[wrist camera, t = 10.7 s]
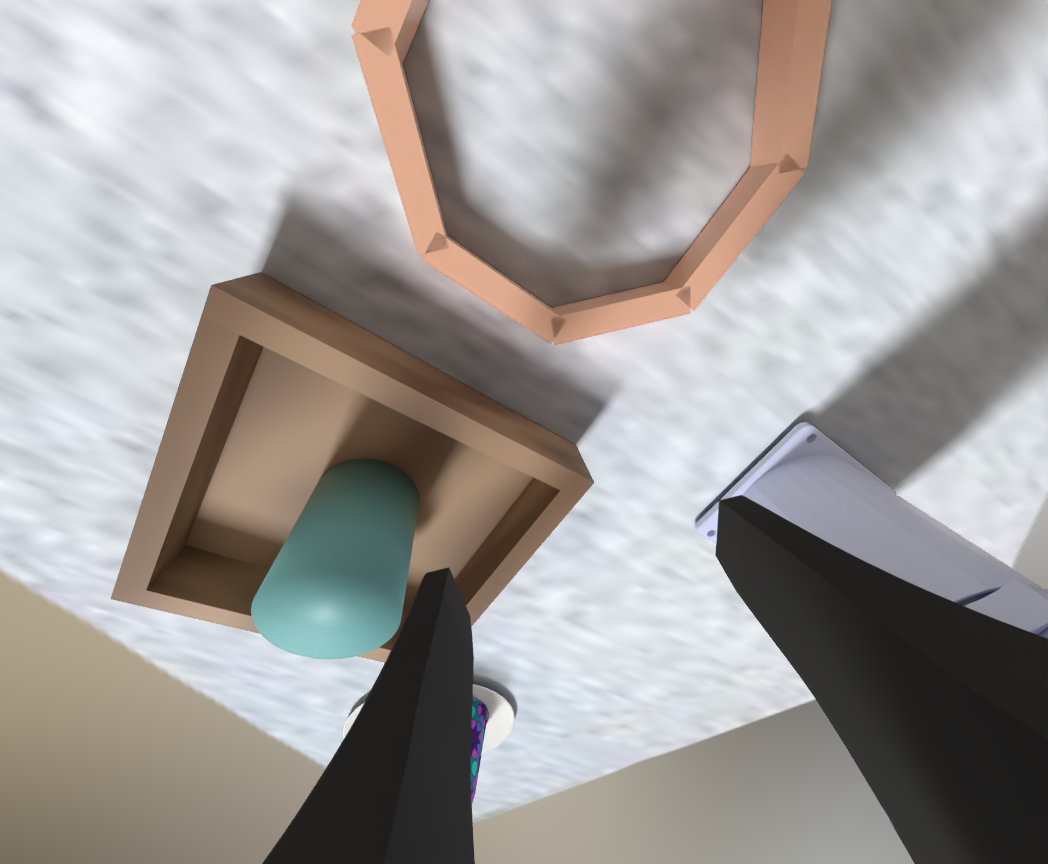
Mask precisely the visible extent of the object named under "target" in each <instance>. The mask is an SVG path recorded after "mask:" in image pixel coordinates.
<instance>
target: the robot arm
mask: <svg viewBox="0 0 1048 864" xmlns="http://www.w3.org/2000/svg"><path fill="white" fill-rule="evenodd" d="M808 436H809V437H808ZM694 530H695V532H696V533H697V534H698V535H699V536H701V537H703V538H704V539H706V540H708V541H710V542H712V543H714V544H716V557H717V559H718V560H719V562H720V564H721V566H722V567H723V569H724V571H725V573H726V574H727V576H728V578H729V579H730V581H731V583H732V584H733V586H734V588H735V589H736V591H737V593H738V594H739V595H740V597H741V598H742V599H743V601H744V602H745V604H746V605H747V606H748V608H749V609H750V610H751V612H752V613H753V614H754V616H755V617H756V618H757V620H758V621H759V622H760V624H761V625H762V626H763V628H764V629H765V630H766V632H767V633H768V634H769V636H770V637H771V638H772V640H773V641H774V642H775V644H776V645H777V646H778V648H779V649H780V650H781V652H782V653H783V654H784V656H785V657H786V658H787V660H788V661H789V662H790V664H791V665H792V666H793V668H794V669H795V670H796V672H797V673H798V674H799V676H800V677H801V678H802V680H803V681H804V683H805V684H806V685H807V687H808V688H809V690H810V691H811V693H812V694H813V695H814V697H815V698H816V700H817V702H818V703H819V705H820V706H821V708H822V709H823V711H824V713H825V714H826V716H827V717H828V719H829V720H830V722H831V724H832V725H833V727H834V728H835V730H836V731H837V733H838V735H839V736H840V738H841V740H842V741H843V743H844V744H845V746H846V748H847V749H848V751H849V752H850V754H851V756H852V758H853V759H854V761H855V762H856V764H857V765H858V767H859V769H860V771H861V772H862V774H863V776H864V777H865V779H866V781H867V782H868V784H869V786H870V787H871V789H872V791H873V792H874V794H875V796H876V797H877V799H878V801H879V802H880V804H881V806H882V808H883V810H884V812H885V814H886V816H887V817H888V819H889V821H890V822H891V824H892V826H893V827H894V829H895V830H896V832H897V834H898V835H899V837H900V839H901V840H902V842H903V844H904V846H905V847H906V849H907V851H908V853H909V854H910V856H911V858H912V860H913V861H914V863H915V864H1048V590H1047V589H1045V588H1042V587H1041V586H1039V585H1037V584H1036V583H1034V582H1033V581H1031V580H1030V579H1028V578H1026V577H1025V576H1023V575H1022V574H1020V573H1019V572H1017V571H1016V570H1014V569H1012V568H1011V567H1009V566H1008V565H1006V564H1005V563H1003V562H1001V561H1000V560H998V559H997V558H995V557H994V556H992V555H990V554H989V553H987V552H986V551H984V550H983V549H981V548H979V547H978V546H976V545H975V544H973V543H972V542H970V541H968V540H967V539H965V538H964V537H962V536H961V535H959V534H958V533H956V532H954V531H953V530H951V529H950V528H948V527H947V526H945V525H943V524H942V523H940V522H939V521H937V520H936V519H934V518H932V517H931V516H929V515H928V514H926V513H925V512H923V511H921V510H920V509H918V508H917V507H915V506H914V505H912V504H910V503H909V502H907V501H906V500H904V499H903V498H901V497H900V496H898V495H896V492H895V491H894V490H893V489H891V488H890V487H889V486H888V485H886V484H885V483H884V482H883V481H881V480H880V479H879V478H878V477H876V476H875V475H874V474H873V473H871V472H870V471H869V470H868V469H866V468H865V467H864V466H863V465H861V464H860V463H859V462H858V461H856V460H855V459H854V458H853V457H851V456H850V455H849V454H848V453H846V452H845V451H844V450H843V449H842V448H840V447H839V446H838V445H837V444H835V443H834V442H833V441H832V440H830V439H829V438H828V437H827V436H825V435H824V434H823V433H822V432H820V431H819V430H818V429H817V428H815V427H814V426H813V425H811V424H809V423H807V422H802V423H799V424H797V425H796V426H795V427H794V428H793V429H792V430H791V431H790V432H789V433H788V434H787V435H786V436H785V437H784V438H783V439H782V440H781V441H779V442H778V443H777V444H776V445H775V446H774V447H773V448H772V449H771V450H770V451H769V452H768V453H767V454H766V455H765V456H764V457H763V458H762V459H761V460H760V461H759V462H758V463H757V464H756V465H755V466H754V467H753V468H752V469H751V470H750V471H749V472H748V473H747V474H746V475H745V476H744V477H743V478H742V479H741V480H740V481H739V482H738V483H737V484H735V485H734V486H733V487H732V488H731V489H730V490H729V491H728V492H727V493H726V494H725V495H724V496H723V497H722V498H721V499H720V500H719V501H718V502H717V503H716V504H715V505H714V506H713V507H712V508H711V509H710V510H709V511H708V512H707V513H706V514H705V515H704V516H703V517H702V518H701V519H700V520H699V521H698V522H697V523H696V524H695V526H694ZM473 659H474V657H473V642H472V630H471V618H470V614H469V612H468V610H467V607H466V605H465V603H464V601H463V598H462V596H461V594H460V591H459V589H458V587H457V584H456V582H455V580H454V578H453V575H452V573H451V571H450V568H449V567H448V568H444V569H440V570H436V571H432V572H428V573H426V574H425V575H424V577H423V579H422V581H421V584H420V586H419V589H418V591H417V593H416V596H415V598H414V601H413V603H412V605H411V608H410V610H409V612H408V615H407V617H406V619H405V621H404V624H403V626H402V628H401V630H400V633H399V635H398V637H397V639H396V641H395V643H394V645H393V647H392V650H391V652H390V654H389V656H388V658H387V660H386V662H385V664H384V666H383V668H382V670H381V672H380V674H379V676H378V678H377V680H376V682H375V684H374V685H373V687H372V689H371V691H370V693H369V695H368V697H367V699H366V701H365V703H364V705H363V706H362V708H361V710H360V712H359V714H358V715H357V717H356V719H355V721H354V723H353V724H352V726H351V728H350V730H349V731H348V733H347V735H346V737H345V738H344V740H343V742H342V743H341V745H340V747H339V748H338V750H337V752H336V753H335V755H334V757H333V758H332V760H331V762H330V763H329V765H328V766H327V768H326V770H325V771H324V773H323V774H322V776H321V777H320V779H319V780H318V782H317V784H316V785H315V787H314V788H313V790H312V791H311V793H310V794H309V796H308V798H307V799H306V801H305V802H304V804H303V805H302V807H301V808H300V810H299V811H298V813H297V814H296V816H295V818H294V819H293V820H292V822H291V823H290V825H289V826H288V828H287V829H286V831H285V832H284V834H283V835H282V837H281V838H280V839H279V841H278V842H277V844H276V845H275V846H274V848H273V849H272V851H271V852H270V853H269V855H268V856H267V858H266V859H265V861H264V862H263V863H262V864H475V862H474V847H473V845H474V844H473V825H472V804H471V730H472V698H473Z"/></svg>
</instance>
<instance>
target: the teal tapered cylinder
mask: <svg viewBox="0 0 1048 864" xmlns="http://www.w3.org/2000/svg"><path fill="white" fill-rule="evenodd" d="M418 508H419V494H418V491H417V488H416V486H415V484H414V483H413V481H412V480H411V479H410V477H409V476H408V475H407V474H405V473H404V472H403V471H402V470H400V469H399V468H397V467H395V466H393V465H391V464H389V463H386V462H384V461H380V460H375V459H363V458H362V459H352V460H347V461H344V462H341V463H339V464H337V465H335V466H333V467H331V468H330V469H329V470H327V471H326V472H325V473H324V474H323V475H322V477H321V478H320V480H319V481H318V483H317V485H316V487H315V489H314V491H313V492H312V494H311V496H310V498H309V500H308V501H307V503H306V505H305V507H304V509H303V510H302V512H301V514H300V516H299V518H298V519H297V521H296V523H295V525H294V527H293V528H292V530H291V532H290V534H289V536H288V537H287V539H286V541H285V543H284V545H283V547H282V548H281V550H280V552H279V554H278V556H277V557H276V559H275V561H274V563H273V565H272V566H271V568H270V570H269V572H268V574H267V575H266V577H265V579H264V581H263V583H262V584H261V586H260V588H259V590H258V592H257V593H256V595H255V597H254V600H253V602H252V607H251V616H252V620H253V623H254V625H255V627H256V628H257V630H258V631H259V632H260V634H261V635H262V636H263V637H264V638H265V639H267V640H268V641H269V642H271V643H272V644H274V645H275V646H277V647H279V648H281V649H283V650H285V651H288V652H290V653H293V654H296V655H300V656H304V657H310V658H317V659H342V658H350V657H354V656H359V655H362V654H365V653H368V652H370V651H373V650H375V649H377V648H379V647H380V646H382V645H383V644H385V643H386V642H387V641H389V640H390V639H391V638H392V637H393V635H394V634H395V633H396V631H397V630H398V628H399V625H400V622H401V617H402V611H403V604H404V598H405V591H406V585H407V579H408V572H409V566H410V560H411V553H412V547H413V540H414V534H415V528H416V521H417V515H418Z"/></svg>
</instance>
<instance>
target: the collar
mask: <svg viewBox="0 0 1048 864" xmlns="http://www.w3.org/2000/svg"><path fill="white" fill-rule="evenodd" d="M831 1H832V0H764V1H763V13H762V25H761V37H760V50H759V62H758V74H757V86H756V99H755V111H754V123H753V135H752V148H751V160H750V168H749V169H748V171H747V172H746V173H745V175H744V176H743V177H742V179H741V180H740V181H739V183H738V184H737V185H736V187H735V188H734V189H733V191H732V192H731V193H730V195H729V196H728V197H727V199H726V200H725V201H724V203H723V204H722V205H721V207H720V208H719V209H718V211H717V212H716V213H715V215H714V216H713V217H712V218H711V220H710V221H709V222H708V224H707V225H706V226H705V228H704V229H703V230H702V232H701V233H700V234H699V236H698V237H697V238H696V240H695V241H694V242H693V244H692V245H691V246H690V248H689V249H688V250H687V252H686V253H685V254H684V256H683V257H682V258H681V260H680V261H679V262H678V264H677V265H676V266H675V268H674V269H673V270H672V271H671V273H670V274H669V275H668V277H667V278H666V279H665V281H664V282H661V283H657V284H653V285H648V286H644V287H640V288H635V289H631V290H627V291H622V292H618V293H614V294H609V295H605V296H601V297H596V298H592V299H588V300H583V301H579V302H575V303H570V304H566V305H562V306H557V307H553V308H551V307H550V306H548V305H547V304H545V303H544V302H542V301H541V300H539V299H538V298H537V297H535V296H534V295H532V294H531V293H529V292H528V291H526V290H525V289H524V288H522V287H521V286H519V285H518V284H516V283H515V282H514V281H512V280H511V279H509V278H508V277H506V276H505V275H503V274H502V273H501V272H499V271H498V270H496V269H495V268H493V267H492V266H491V265H489V264H488V263H486V262H485V261H483V260H482V259H480V258H479V257H478V256H476V255H475V254H473V253H472V252H470V251H469V250H467V249H466V248H465V247H463V246H462V245H460V244H459V243H457V242H456V241H455V240H453V239H452V238H450V237H449V236H447V232H446V228H445V224H444V220H443V217H442V213H441V209H440V205H439V201H438V197H437V194H436V190H435V186H434V182H433V178H432V174H431V171H430V167H429V163H428V159H427V155H426V152H425V148H424V144H423V140H422V136H421V132H420V129H419V125H418V121H417V117H416V113H415V110H414V106H413V102H412V98H411V94H410V90H409V87H408V83H407V79H406V75H405V71H404V67H403V62H404V59H405V57H406V55H407V52H408V50H409V47H410V45H411V43H412V40H413V38H414V35H415V33H416V31H417V28H418V26H419V23H420V21H421V19H422V16H423V14H424V11H425V9H426V7H427V4H428V2H429V0H361V1H360V4H359V6H358V9H357V12H356V14H355V17H354V20H353V23H352V25H351V26H352V28H353V30H354V31H355V33H356V34H354V35H351V36H352V39H353V42H354V46H355V49H356V52H357V56H358V59H359V62H360V65H361V69H362V72H363V75H364V79H365V82H366V85H367V89H368V92H369V95H370V98H371V102H372V105H373V108H374V112H375V115H376V118H377V122H378V125H379V128H380V132H381V135H382V138H383V141H384V145H385V148H386V151H387V155H388V158H389V161H390V165H391V168H392V171H393V174H394V178H395V181H396V184H397V188H398V191H399V194H400V198H401V201H402V204H403V207H404V211H405V214H406V217H407V221H408V224H409V227H410V231H411V234H412V237H413V241H414V244H415V247H416V250H417V254H418V255H422V254H424V256H423V258H422V261H424V262H425V263H427V264H428V265H430V266H431V267H433V268H434V269H436V270H437V271H439V272H441V273H442V274H444V275H445V276H447V277H448V278H450V279H451V280H453V281H454V282H456V283H457V284H459V285H461V286H462V287H464V288H465V289H467V290H468V291H470V292H471V293H473V294H474V295H476V296H477V297H479V298H480V299H482V300H484V301H485V302H487V303H488V304H490V305H491V306H493V307H494V308H496V309H497V310H499V311H500V312H502V313H504V314H505V315H507V316H508V317H510V318H511V319H513V320H514V321H516V322H517V323H519V324H520V325H522V326H523V327H525V328H527V329H528V330H530V331H531V332H533V333H534V334H536V335H537V336H539V337H540V338H542V339H543V340H545V341H547V342H548V343H550V344H551V343H552V341H553V343H554V344H555V345H557V344H561V343H565V342H570V341H574V340H578V339H583V338H587V337H591V336H596V335H600V334H604V333H608V332H613V331H617V330H621V329H626V328H630V327H634V326H639V325H643V324H647V323H651V322H656V321H660V320H664V319H669V318H673V317H677V316H682V315H686V314H690V309H691V310H693V311H694V310H695V309H696V308H697V307H698V305H699V304H700V303H701V302H702V300H703V299H704V298H705V297H706V296H707V294H708V293H709V292H710V291H711V289H712V288H713V287H714V286H715V284H716V283H717V282H718V281H719V279H720V278H721V277H722V276H723V274H724V273H725V272H726V271H727V269H728V268H729V267H730V266H731V265H732V263H733V262H734V261H735V260H736V258H737V257H738V256H739V255H740V253H741V252H742V251H743V250H744V248H745V247H746V246H747V245H748V243H749V242H750V241H751V240H752V238H753V237H754V236H755V235H756V234H757V232H758V231H759V230H760V229H761V227H762V226H763V225H764V224H765V222H766V221H767V220H768V219H769V217H770V216H771V215H772V214H773V212H774V211H775V210H776V209H777V207H778V206H779V205H780V204H781V203H782V201H783V200H784V199H785V198H786V196H787V195H788V194H789V193H790V191H791V190H792V189H793V188H794V186H795V185H796V184H797V183H798V181H799V180H800V179H801V178H802V176H803V175H804V174H805V173H804V172H803V171H802V169H803V168H807V167H808V161H809V154H810V147H811V140H812V133H813V126H814V119H815V112H816V105H817V98H818V91H819V84H820V77H821V71H822V64H823V57H824V50H825V43H826V36H827V29H828V22H829V15H830V8H831Z"/></svg>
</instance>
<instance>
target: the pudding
mask: <svg viewBox="0 0 1048 864" xmlns="http://www.w3.org/2000/svg"><path fill="white" fill-rule="evenodd" d="M473 696H475V697H476V698H478V699H479V700H481V701H482V702H483V703H484V704H485V705H486V706H485V705H484V704H483V703H481V702H479V701H472V730H471V804H472V802H473V799H474V795H475V790H476V784H477V778H478V772H479V766H480V760H481V756H482V755H484V754H486V753H488V752H489V751H491V750H492V749H494V748H496V747H497V746H498V745H499V744H500V743H502V742H503V741H504V740H505V738H506V737H507V736H508V735H509V733H510V732H511V730H512V728H513V725H514V720H515V718H514V711H513V709H512V707H511V705H510V704H509V703H508V701H507V700H506V699H505V698H504V697H502V696H501V695H499V694H498V693H497V692H495V691H492V690H490V689H488V688H486V687H482V686H479V685H475V684H473ZM364 703H365V702H364ZM364 703H363V704H362V705H360V706H359V707H358V708H356V709H355V710H354V712H353V713H352V714H351V715H350V716H349V717H348V719H347V721H346V723H345V725H344V729H343V738H345V737H346V735H347V733H348V731H349V730H350V728H351V726H352V724H353V723H354V721H355V719H356V717H357V715H358V714H359V712H360V710H361V708H362V706H363V705H364ZM486 707H487V709H488V711H489V719H488V722H487V720H486V713H487V709H486ZM486 723H487V724H486Z"/></svg>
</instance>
